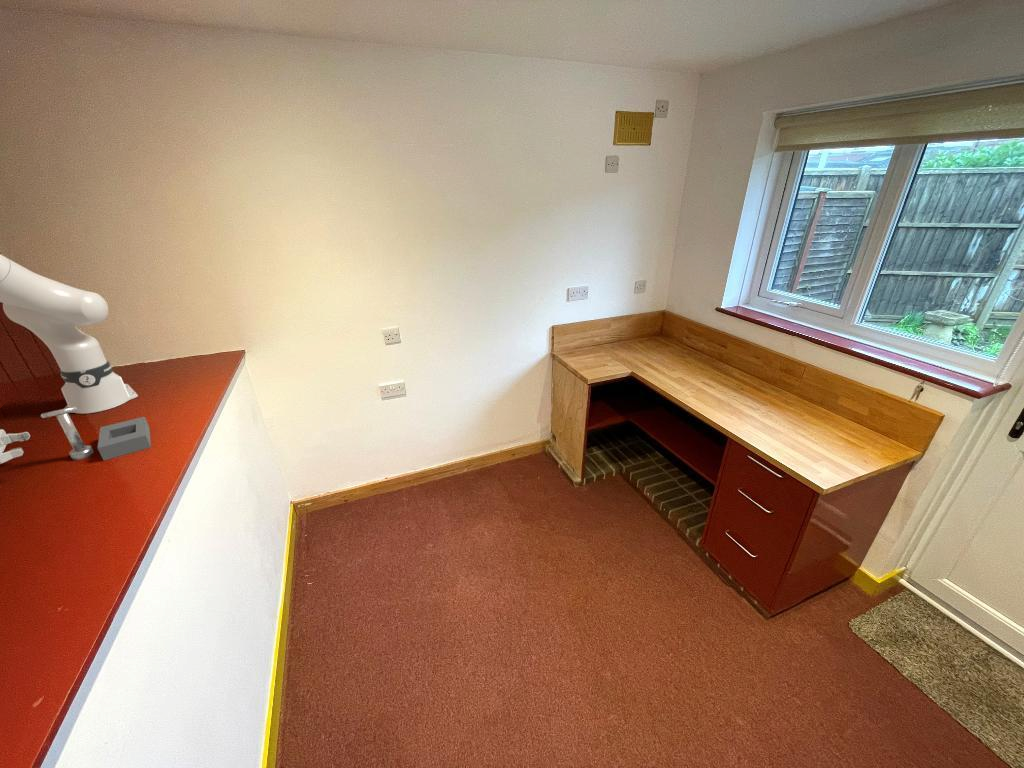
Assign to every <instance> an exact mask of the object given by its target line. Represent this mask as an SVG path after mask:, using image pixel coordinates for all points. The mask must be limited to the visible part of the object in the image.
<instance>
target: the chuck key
mask: <svg viewBox="0 0 1024 768" xmlns="http://www.w3.org/2000/svg"><path fill="white" fill-rule="evenodd" d="M74 411H77V407H76V406H75V407H70V408H66V409H64V408H62V409H57V410H52V411H48V412H44V413H41V414H40V417H41V418H42V419H45V418H50V417H56V418H57V421H58V423H59V424H60V427H62V429H63V432H64V434H65V436H66V437H67V439H68V442H69V443H70V445H71V447H72V449H71V450H70V451H69V452H68V454H69V456H70V457H71V459H72V460H73V461H79V460H83V459H86V458H89V457H90V456H93V454H94V453H95V452H94V449H93V448H92V445H87V444H86V445H85V444H84V442H83V440H82V438H81V436H80V434H79V431H78V430H77V429H76V426H75V425H74V422H73V420H72V418H71V416H70V413H69V412H74Z"/></svg>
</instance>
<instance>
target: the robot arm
mask: <svg viewBox="0 0 1024 768" xmlns="http://www.w3.org/2000/svg"><path fill="white" fill-rule="evenodd" d="M0 303H2V310H3V312H4V314H5V315H6V317H7V318H8V319H9V320H10V321H12V322H13V323H15V324H18V325H20V326H22V327H24V328H26V329H28V330H29V331H31V333H33V334H34V335H35V336H36V337H38V338H39V339H40V340H41V341H42V342H43V344H45V345H46V347H48V349H49V351H50V352H51V354H52V356H53V358H54V359H55V361H56V363H57V365H58V368H59V369H60V370H59V373H60V377H61V378H62V380H63V381H64V382H65V383H64V385H62V387H61V388H60V389H61V392H62V394H63V397H64V399H65V401H66V404H67V405H66V406H65V407H64V408H63V409H66V408H70V407H75V406H76V407H77V411H74V412H69V413H68V414H70V413H75V414H82V415H83V414H92V413H93V414H94V413H98V412H104V411H107V410H110V409H113V408H117V407H119V406H121V405H123V404H125V403H127V402H128V401H130V400H133V399H135V398H137V397H139V395H138V393H137V392H136V391H135V390H134V389H133V388H132V387H131V386H130V385H129V383H124V381H123V379H122V376H120V375H119V374H117V373H116V372H114V369H113V368H112V365H111V363H110V361H109V360H107V359H106V356H105V354H104V350H103V349H102V347H101V345H100V343H99V341H98V340H97V338H95V337H94V336H91V335H90V334H87V333H85V332H84V331H82V330H80V328H79V327H78V326H81V327H82V326H88V325H93V324H98V323H101V322H104V321H105V320H106V318H107V317H108V315H109V306H108V303H107V301H106V299H105V298H103V296H102V295H100V294H99V293H96V292H92V291H88V290H83V289H80V288H76V287H74V286H71V285H67V284H65V283H62V282H59V281H57V280H55V279H51V278H49V277H46V276H43V275H41V274H38V273H35V272H34V271H31V270H30V269H28V268H27V267H25V266H22V265H21V264H19V263H17V262H15V261H14V260H12V259H10V258H8V257H7V256H4V255H3V254H1V253H0ZM30 438H31V435H30V433H29V432H28V431H24V432H19V433H6V431H5V430H4V429H2V428H1V429H0V465H1V464H3V463H6V462H8V461H10V460H12V459H15V458H18V457H22V456H23V454H24V450H23V448H22V447H16V448H11V449H10V450H7V451H5V449H6V446H7V445H8V444H12V443H13V442H24V441H28V440H30ZM4 451H5V452H4Z"/></svg>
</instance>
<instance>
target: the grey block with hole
mask: <svg viewBox="0 0 1024 768" xmlns="http://www.w3.org/2000/svg"><path fill="white" fill-rule="evenodd" d="M151 447H152V443H151V431H150V426H149V424H148V421H147V418H146V417H145V416H141V417H137V418H132V419H129V420H125V421H121V422H117V423H112V424H108V425H105V426H101V427H100V428H99V435H98V442H97V450H98V452H99V455H100V456H101V458H102V460H103V461H107V460H110V459H114V458H118V457H121V456H125V455H129V454H132V453H133V454H134V453H136V452H139V451H143V450H146V449H151Z"/></svg>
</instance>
